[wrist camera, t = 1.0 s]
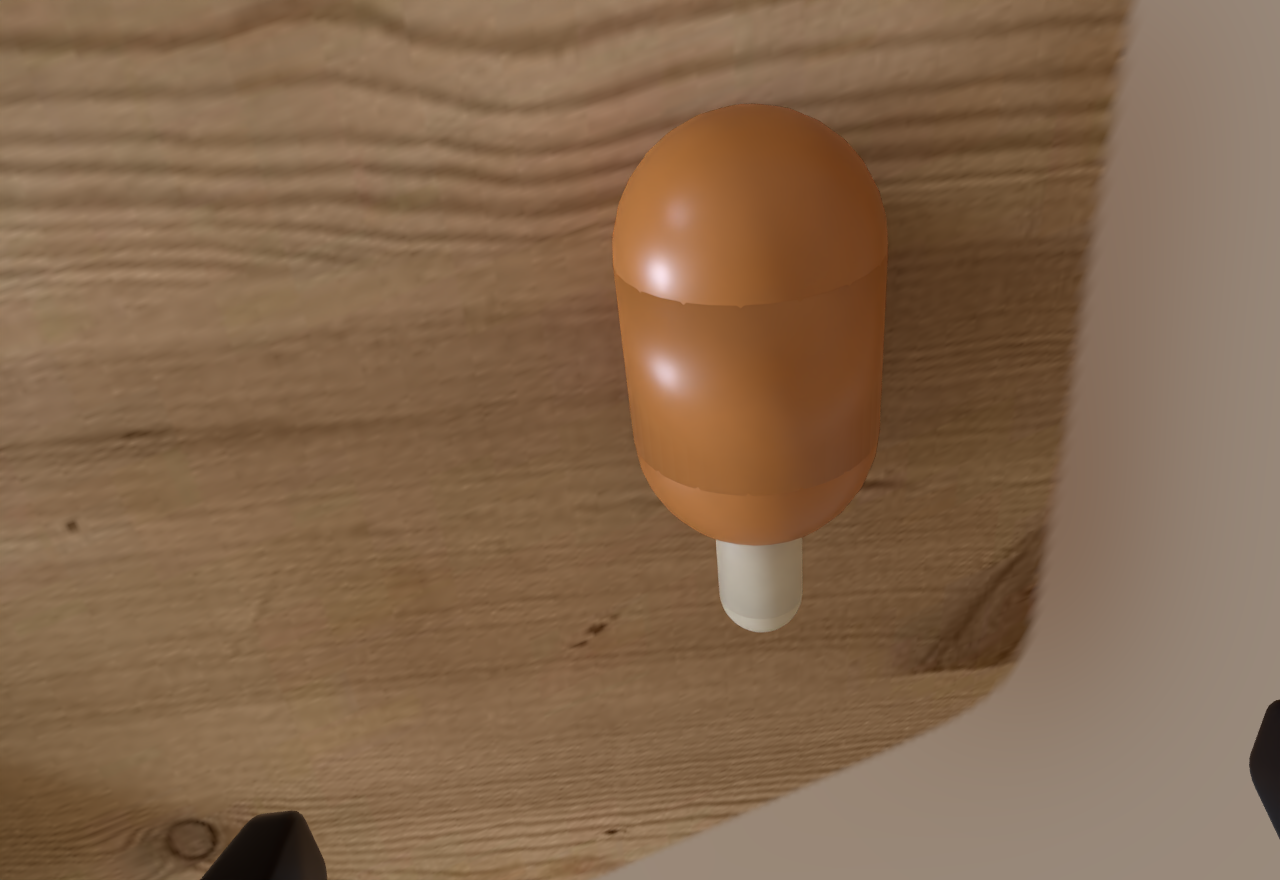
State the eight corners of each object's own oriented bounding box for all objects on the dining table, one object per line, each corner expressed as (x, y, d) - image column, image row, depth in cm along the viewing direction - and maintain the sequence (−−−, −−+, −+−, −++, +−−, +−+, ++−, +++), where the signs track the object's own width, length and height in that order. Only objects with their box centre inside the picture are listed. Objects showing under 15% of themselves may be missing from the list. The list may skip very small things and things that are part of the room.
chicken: (842, 542, 21) (897, 689, 17) (649, 563, 21) (663, 714, 17) (853, 62, 15) (935, 129, 12) (594, 91, 15) (598, 166, 12)
